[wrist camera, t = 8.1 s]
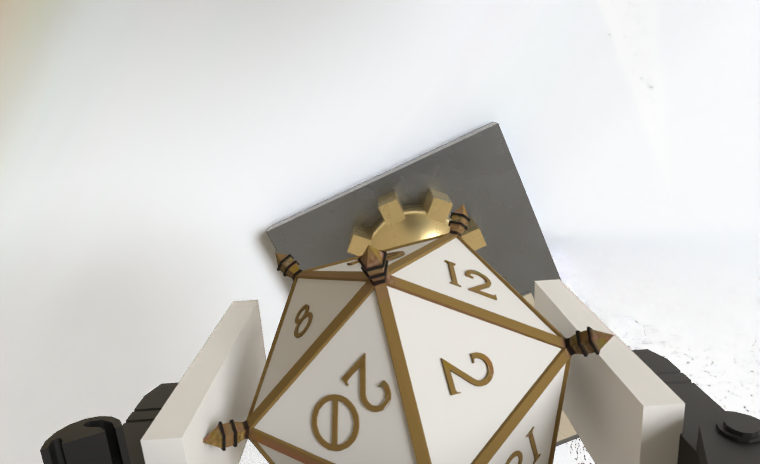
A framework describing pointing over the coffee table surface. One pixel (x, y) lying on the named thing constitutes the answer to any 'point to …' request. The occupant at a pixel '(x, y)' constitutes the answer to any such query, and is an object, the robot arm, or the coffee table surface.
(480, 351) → the game die
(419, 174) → the carrier plate
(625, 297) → the coffee table surface
